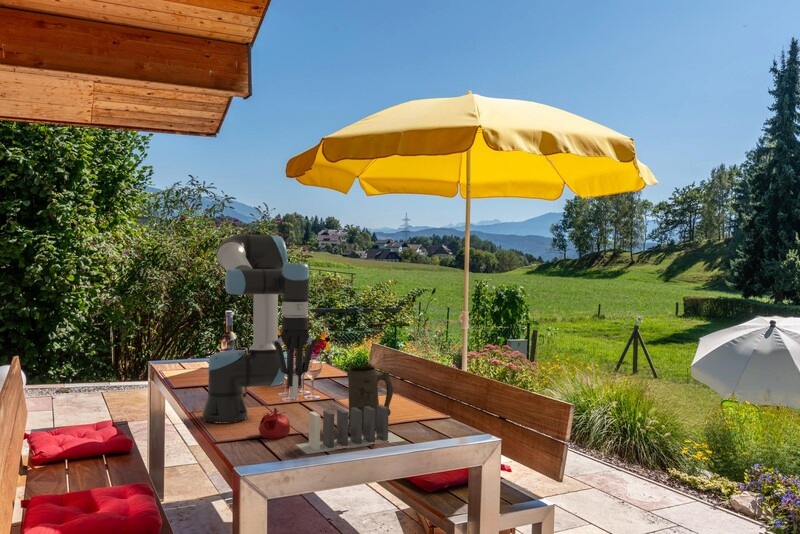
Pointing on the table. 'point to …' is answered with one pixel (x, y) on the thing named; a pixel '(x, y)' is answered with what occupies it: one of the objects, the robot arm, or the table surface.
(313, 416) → the domino
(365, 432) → the domino
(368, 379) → the beer stein
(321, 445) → the mat
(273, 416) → the pomegranate
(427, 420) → the table surface
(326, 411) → the domino
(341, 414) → the domino
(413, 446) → the table surface
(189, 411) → the table surface
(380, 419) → the domino
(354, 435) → the domino
